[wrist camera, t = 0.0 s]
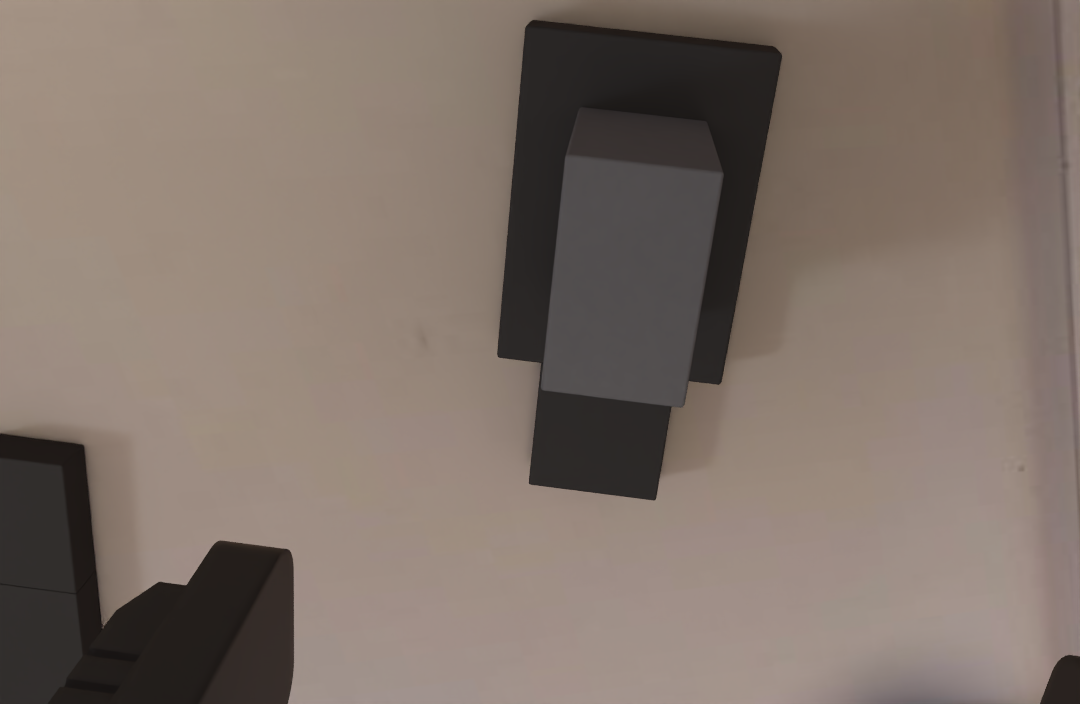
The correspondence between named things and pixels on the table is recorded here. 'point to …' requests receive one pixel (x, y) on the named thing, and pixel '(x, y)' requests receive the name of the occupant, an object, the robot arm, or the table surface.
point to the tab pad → (535, 213)
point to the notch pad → (44, 568)
